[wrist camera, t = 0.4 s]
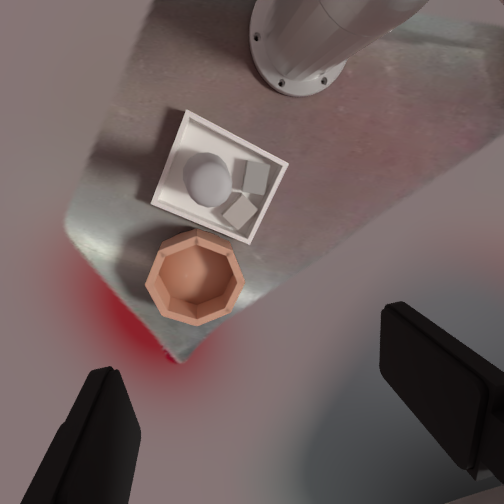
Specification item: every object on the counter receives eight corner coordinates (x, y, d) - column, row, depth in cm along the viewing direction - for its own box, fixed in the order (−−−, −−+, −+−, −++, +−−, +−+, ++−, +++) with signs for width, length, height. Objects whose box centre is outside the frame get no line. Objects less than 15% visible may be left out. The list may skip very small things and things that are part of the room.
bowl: (172, 216, 39) (168, 225, 34) (250, 248, 42) (256, 260, 38) (142, 291, 41) (135, 307, 37) (218, 315, 45) (220, 333, 40)
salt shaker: (174, 174, 37) (162, 185, 25) (204, 142, 36) (207, 136, 24) (207, 206, 39) (211, 229, 27) (236, 175, 38) (254, 186, 26)
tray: (187, 111, 35) (186, 109, 33) (284, 163, 39) (288, 163, 37) (153, 201, 37) (150, 203, 35) (247, 240, 42) (249, 244, 39)
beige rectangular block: (241, 192, 39) (243, 194, 38) (256, 207, 40) (258, 209, 39) (221, 213, 39) (222, 215, 38) (236, 227, 41) (237, 230, 39)
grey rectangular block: (246, 160, 38) (248, 160, 36) (267, 164, 38) (270, 164, 37) (240, 190, 39) (242, 191, 37) (261, 193, 40) (264, 195, 38)
